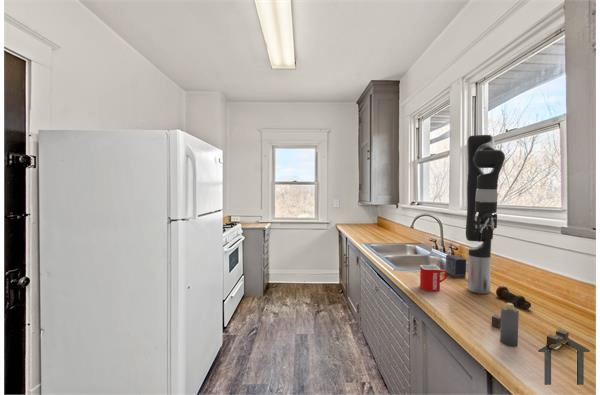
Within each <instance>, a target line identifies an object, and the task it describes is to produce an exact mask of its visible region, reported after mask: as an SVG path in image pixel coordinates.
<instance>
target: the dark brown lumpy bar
mask: <svg viewBox="0 0 600 395" xmlns="http://www.w3.org/2000/svg"><path fill="white" fill-rule="evenodd" d="M495 294H496V296H497V298H499V299H506V300H508V301H511V303H512V304H514V306H515V307H519V308H521V307H522V308H523V309H525V310H529V309H530V308H531V307H532V304H531V302H530V301H528V300H526V298H525V296H523V295H516V294H515V293H513V292H510V291H509V289H508V287H507V286H504V285H503V286H502V285H501V286H499V287H497V288H496V290H495Z"/></svg>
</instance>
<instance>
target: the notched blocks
mask: <svg viewBox="0 0 600 395" xmlns="http://www.w3.org/2000/svg"><path fill="white" fill-rule="evenodd" d="M491 326H492V327H495V328H497V329H501V315H499V314H498V315H497V314H494V315H491ZM569 335H570V334H569V331H566V330H562V329H561V328H560V329H557V330H555V335H554V334H552V333H550V334H548V335H546V343H545V344H546V346H549V345H551V344H557V343H560V341H564V340H568V341H569Z"/></svg>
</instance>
